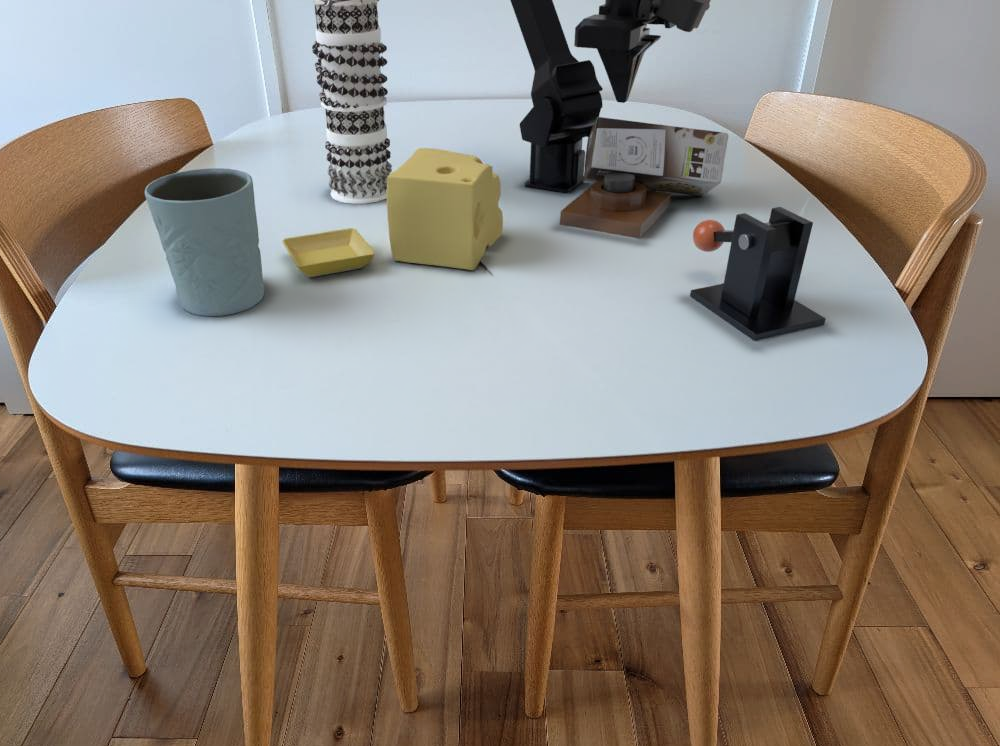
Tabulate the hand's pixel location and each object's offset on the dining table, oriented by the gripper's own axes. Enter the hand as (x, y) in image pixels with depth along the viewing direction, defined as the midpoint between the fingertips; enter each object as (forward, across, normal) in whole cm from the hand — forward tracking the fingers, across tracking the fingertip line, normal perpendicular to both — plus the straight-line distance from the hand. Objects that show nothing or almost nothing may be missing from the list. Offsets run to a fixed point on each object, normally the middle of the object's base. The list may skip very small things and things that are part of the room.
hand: (622, 101), depth 96 cm
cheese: (+13, -22, +12) cm, 28 cm away
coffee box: (+8, +7, -11) cm, 15 cm away
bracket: (+13, -22, -22) cm, 34 cm away
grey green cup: (+13, -43, +27) cm, 52 cm away
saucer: (+13, -31, +22) cm, 40 cm away
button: (+9, -4, -2) cm, 10 cm away
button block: (+13, -4, -2) cm, 14 cm away
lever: (+8, -20, -19) cm, 29 cm away
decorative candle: (+13, -10, +32) cm, 36 cm away
